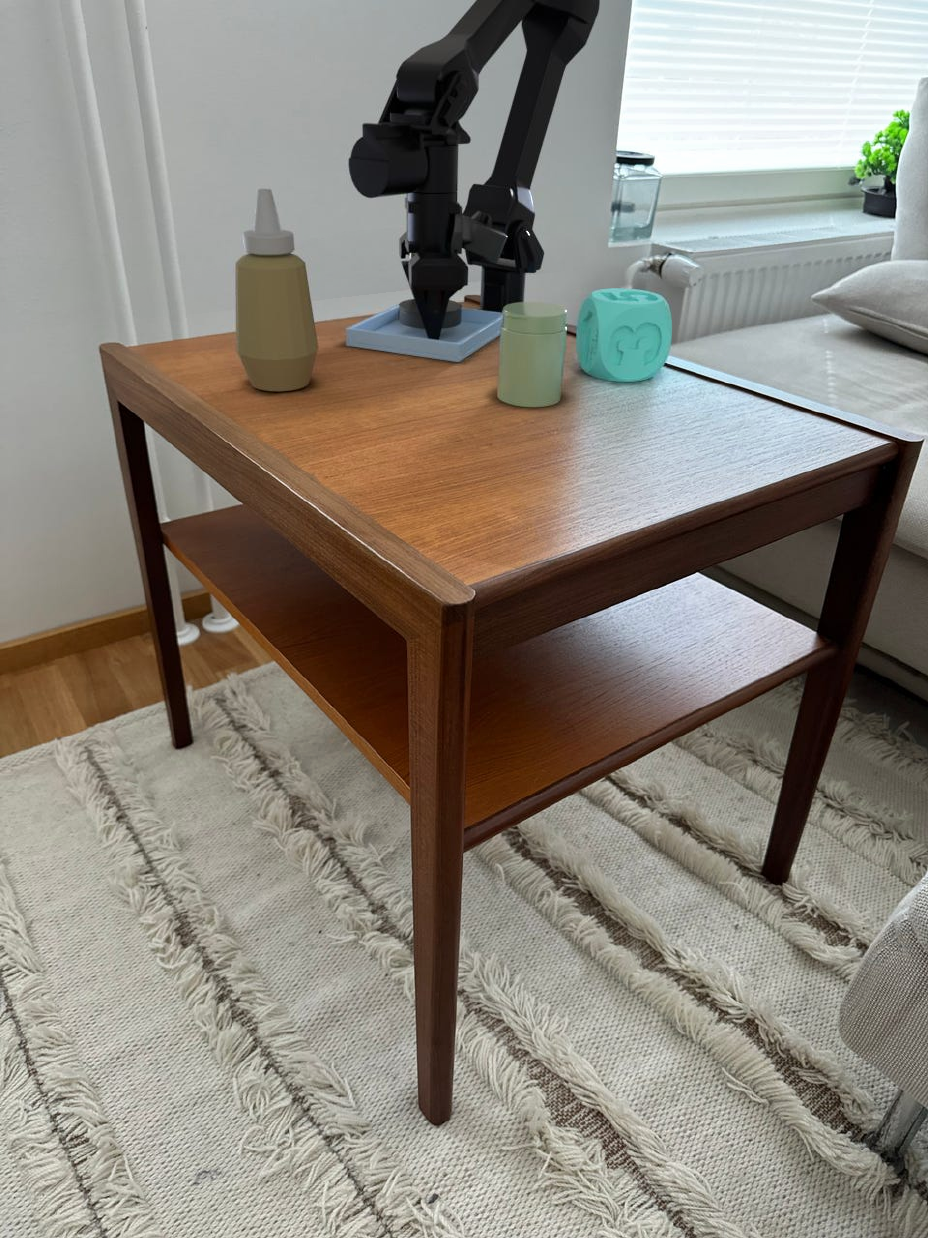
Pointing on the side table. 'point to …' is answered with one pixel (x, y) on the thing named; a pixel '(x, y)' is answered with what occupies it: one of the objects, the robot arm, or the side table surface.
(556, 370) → the jar
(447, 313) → the lid
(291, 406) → the side table surface
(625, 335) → the decorative dice
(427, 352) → the tray
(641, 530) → the side table surface
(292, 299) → the squeeze bottle
